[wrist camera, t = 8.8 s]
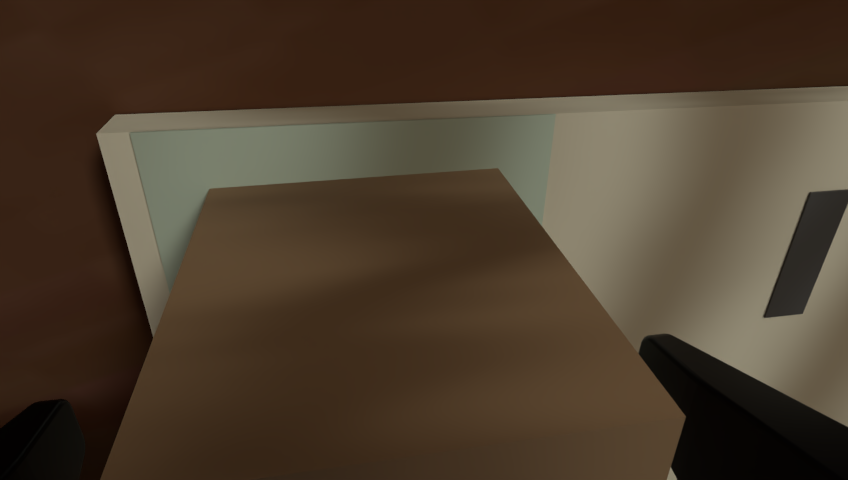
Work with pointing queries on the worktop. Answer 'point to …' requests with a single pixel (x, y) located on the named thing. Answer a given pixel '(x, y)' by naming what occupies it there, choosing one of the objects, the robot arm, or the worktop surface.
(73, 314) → the worktop surface
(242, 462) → the walnut block
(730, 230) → the board
